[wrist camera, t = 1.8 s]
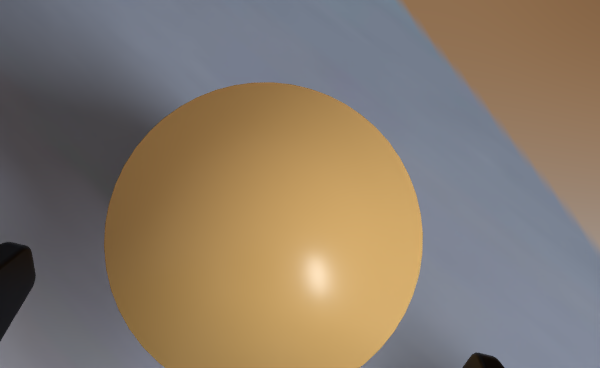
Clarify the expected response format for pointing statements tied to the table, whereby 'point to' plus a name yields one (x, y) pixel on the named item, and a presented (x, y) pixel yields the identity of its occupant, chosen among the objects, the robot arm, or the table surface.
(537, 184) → the table surface
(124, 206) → the stepped tan cylinder
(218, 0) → the table surface
